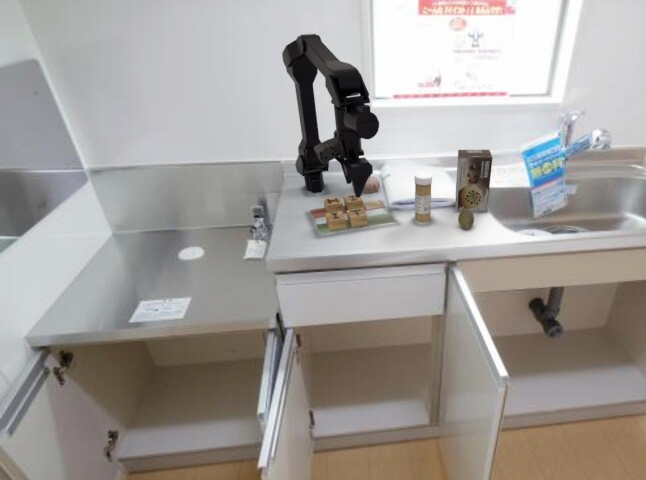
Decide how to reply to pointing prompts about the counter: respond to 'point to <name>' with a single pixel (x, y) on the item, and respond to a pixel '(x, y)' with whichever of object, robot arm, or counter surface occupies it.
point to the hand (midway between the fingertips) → (353, 190)
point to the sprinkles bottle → (423, 196)
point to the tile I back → (353, 202)
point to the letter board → (370, 220)
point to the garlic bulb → (371, 185)
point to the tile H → (333, 205)
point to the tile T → (357, 217)
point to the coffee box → (473, 180)
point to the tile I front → (336, 221)
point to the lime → (466, 219)
